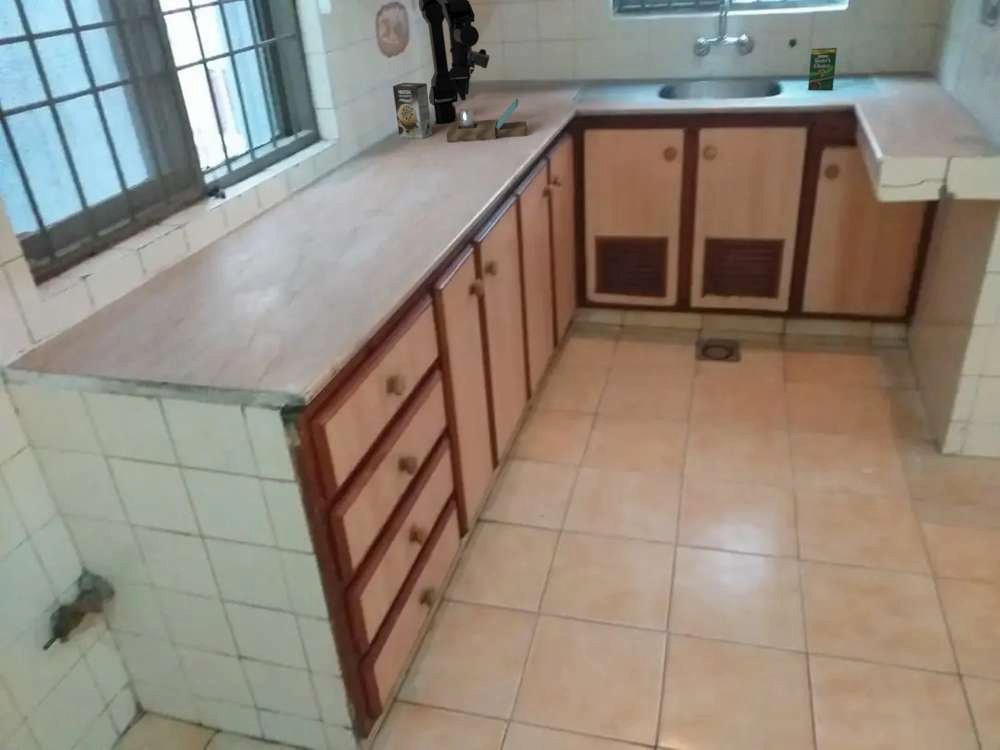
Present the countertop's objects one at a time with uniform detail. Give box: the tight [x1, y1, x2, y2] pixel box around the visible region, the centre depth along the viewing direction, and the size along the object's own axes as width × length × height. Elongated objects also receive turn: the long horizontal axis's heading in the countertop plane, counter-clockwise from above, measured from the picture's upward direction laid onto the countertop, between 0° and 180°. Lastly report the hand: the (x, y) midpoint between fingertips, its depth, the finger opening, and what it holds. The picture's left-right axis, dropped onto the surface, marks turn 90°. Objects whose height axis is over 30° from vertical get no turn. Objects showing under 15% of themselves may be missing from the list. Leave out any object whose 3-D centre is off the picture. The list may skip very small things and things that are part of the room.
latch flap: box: [496, 98, 519, 129], centre depth 253 cm, size 9×10×1 cm
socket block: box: [446, 118, 528, 143], centre depth 256 cm, size 24×14×3 cm, turn 87°
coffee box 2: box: [807, 47, 837, 91], centre depth 272 cm, size 8×3×13 cm, turn 62°
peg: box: [459, 108, 475, 129], centre depth 255 cm, size 4×4×8 cm
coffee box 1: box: [392, 82, 433, 140], centre depth 258 cm, size 9×6×16 cm
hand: (465, 97), depth 251 cm, fingers open, 9 cm apart
